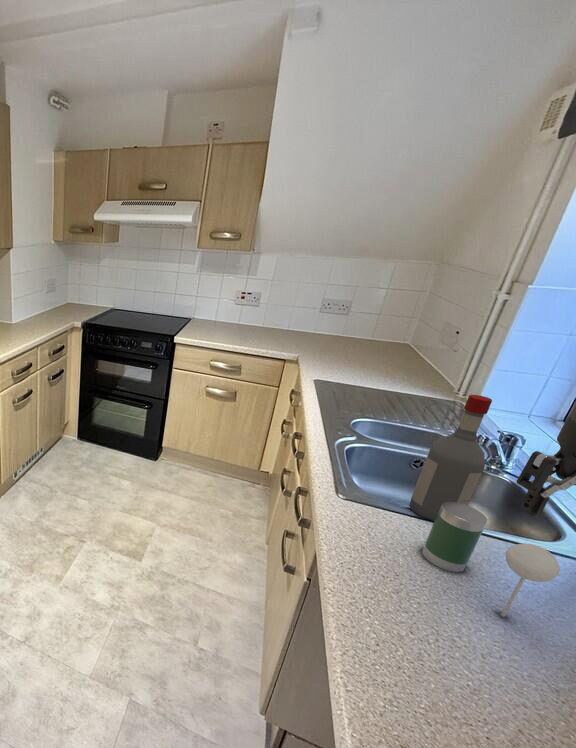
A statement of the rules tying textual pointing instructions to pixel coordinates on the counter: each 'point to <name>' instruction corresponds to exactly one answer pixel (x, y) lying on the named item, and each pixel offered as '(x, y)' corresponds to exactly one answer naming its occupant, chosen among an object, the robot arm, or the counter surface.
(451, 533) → the can
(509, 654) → the counter surface
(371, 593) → the counter surface
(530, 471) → the robot arm
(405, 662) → the counter surface
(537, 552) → the lollipop
